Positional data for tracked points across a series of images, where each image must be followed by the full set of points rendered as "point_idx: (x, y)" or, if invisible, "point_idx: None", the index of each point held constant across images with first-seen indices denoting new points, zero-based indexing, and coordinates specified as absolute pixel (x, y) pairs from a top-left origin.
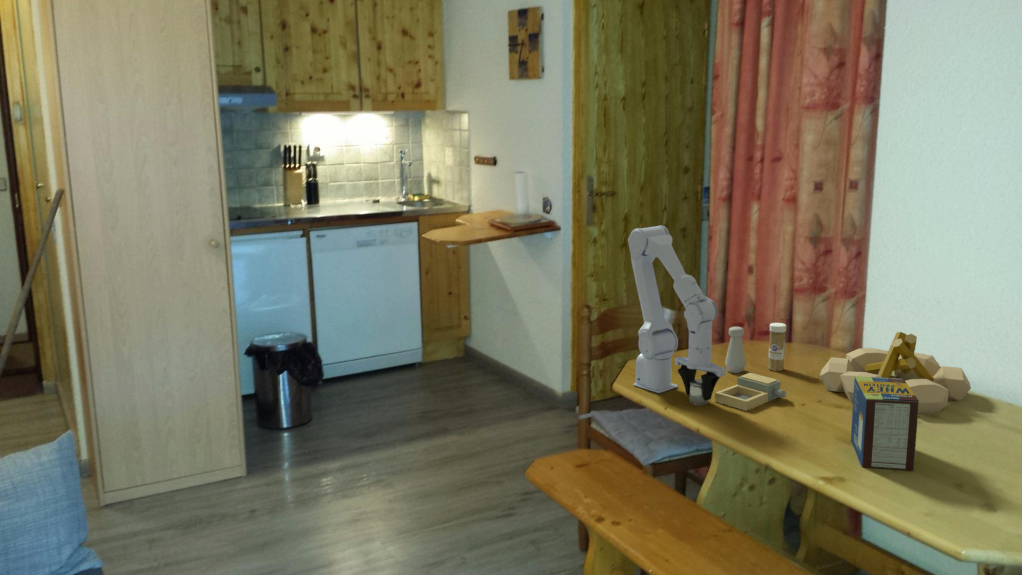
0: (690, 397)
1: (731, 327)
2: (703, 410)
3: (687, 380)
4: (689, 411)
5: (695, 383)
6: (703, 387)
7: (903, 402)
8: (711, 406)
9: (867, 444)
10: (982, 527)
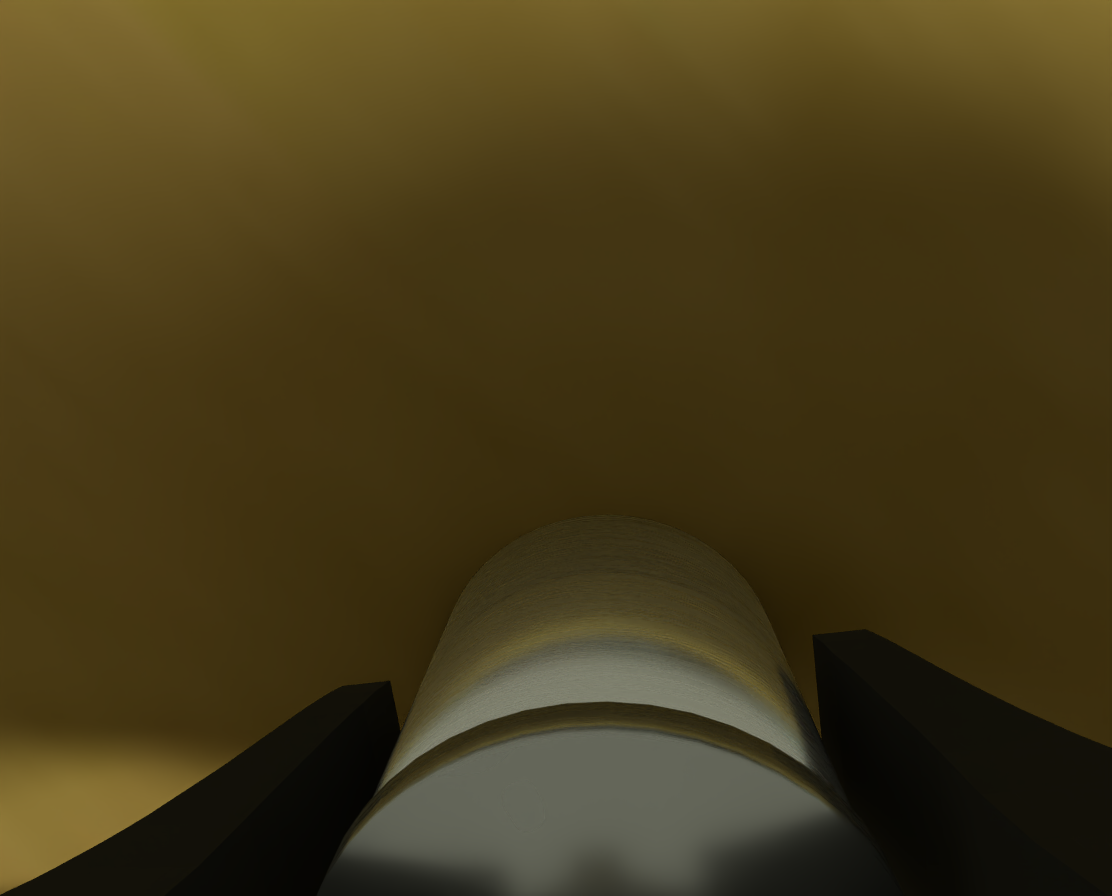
0: (669, 564)
1: None
2: (219, 439)
3: (980, 857)
4: (314, 172)
5: (566, 848)
6: (228, 827)
7: None
8: (307, 698)
9: None
10: None
